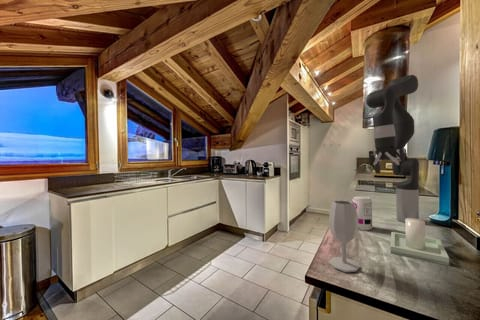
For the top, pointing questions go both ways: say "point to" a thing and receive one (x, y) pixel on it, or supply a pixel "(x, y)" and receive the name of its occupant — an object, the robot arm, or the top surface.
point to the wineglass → (343, 232)
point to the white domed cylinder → (415, 233)
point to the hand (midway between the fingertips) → (388, 173)
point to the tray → (431, 253)
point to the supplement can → (363, 212)
